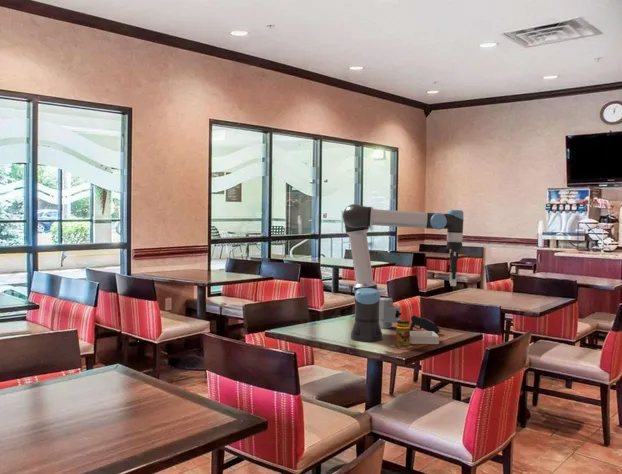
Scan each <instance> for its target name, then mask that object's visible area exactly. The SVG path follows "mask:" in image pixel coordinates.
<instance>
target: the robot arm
mask: <svg viewBox="0 0 622 474" xmlns="http://www.w3.org/2000/svg"><path fill="white" fill-rule="evenodd" d="M342 220H343V224H344V228H345V234H347V236H349V242H350V244H349V245H350V249H351V256H352V264H353V271H354V277H355V284H354V286H353V291H354V323H353V325H352V329H351V332H350V339H352V340H354V341H360V342H377V341H382V340H383V332H382V328H380V324H379V304H380V298H381V294H380V291H379V290H378V284H377V283H376V282H375V281H374V277H373V269H372V264H371V263H372V262H371V256H370V249H369V248H370V247H369V243H368V242H369V241H368V235H367V234H368V231H369V230H370V229H369V228H371V227H372V226H381V227H382V226H383V227H397V228H414V229H416V228H417V229H429V230H438V231H439V230H447V231H446V232H447V233H446V241H447V242H446V250H451V251H450V252H449V260H450V262H449V263H450V266H449V284H450V287H457V275H458V274H457V272H458V261H459V259H458V258H459V253H458V250H459V251H461V250H463V238H464V237H465V235H464V221H465V219H464V211H463V210H460V209H449V210H448V211H447V213H442V212H423V211H409V210H407V211H405V210H392V209H391V210H389V209H376V208H375V209H374V208H373V207H372V206H366V205H360V204H356V203H353V204H352V203H351V204H349V205H348V206H346V207H345V208H344V210H343V212H342Z"/></svg>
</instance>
